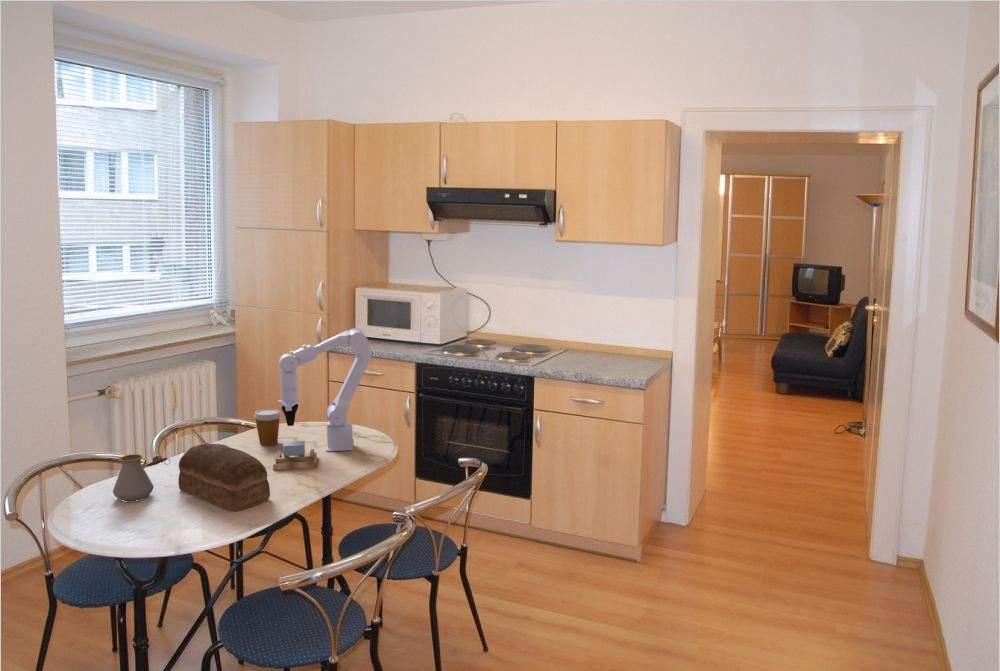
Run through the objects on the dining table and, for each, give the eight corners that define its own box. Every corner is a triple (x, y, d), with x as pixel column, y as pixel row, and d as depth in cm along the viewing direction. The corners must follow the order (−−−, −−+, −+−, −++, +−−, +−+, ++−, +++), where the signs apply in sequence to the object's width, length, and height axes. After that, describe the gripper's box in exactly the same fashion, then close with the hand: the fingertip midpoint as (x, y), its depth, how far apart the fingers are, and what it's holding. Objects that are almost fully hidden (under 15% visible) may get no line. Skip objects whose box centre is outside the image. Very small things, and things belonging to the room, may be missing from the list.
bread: (214, 478, 280) (211, 431, 277) (275, 500, 260) (273, 450, 257) (173, 490, 268) (170, 442, 266) (234, 515, 249) (231, 463, 246)
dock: (316, 457, 300) (316, 447, 300) (315, 467, 290) (315, 457, 289) (275, 459, 298) (275, 449, 297) (273, 470, 287) (272, 460, 286)
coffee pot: (105, 500, 260) (101, 453, 257) (135, 488, 270) (132, 443, 267) (156, 513, 250) (152, 464, 248) (186, 499, 261) (182, 452, 258)
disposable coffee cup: (278, 447, 311) (276, 415, 309) (252, 447, 311) (250, 415, 309) (285, 439, 321) (283, 408, 318) (259, 439, 321) (258, 408, 319)
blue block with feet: (305, 455, 296) (304, 441, 295) (304, 459, 291) (304, 445, 290) (284, 456, 294) (283, 442, 293) (283, 460, 290) (282, 446, 289)
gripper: (279, 383, 308) (280, 420, 310) (275, 393, 294) (277, 431, 296) (299, 383, 309) (300, 419, 312) (296, 392, 295) (298, 430, 298)
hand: (290, 425), depth 304 cm, fingers closed
